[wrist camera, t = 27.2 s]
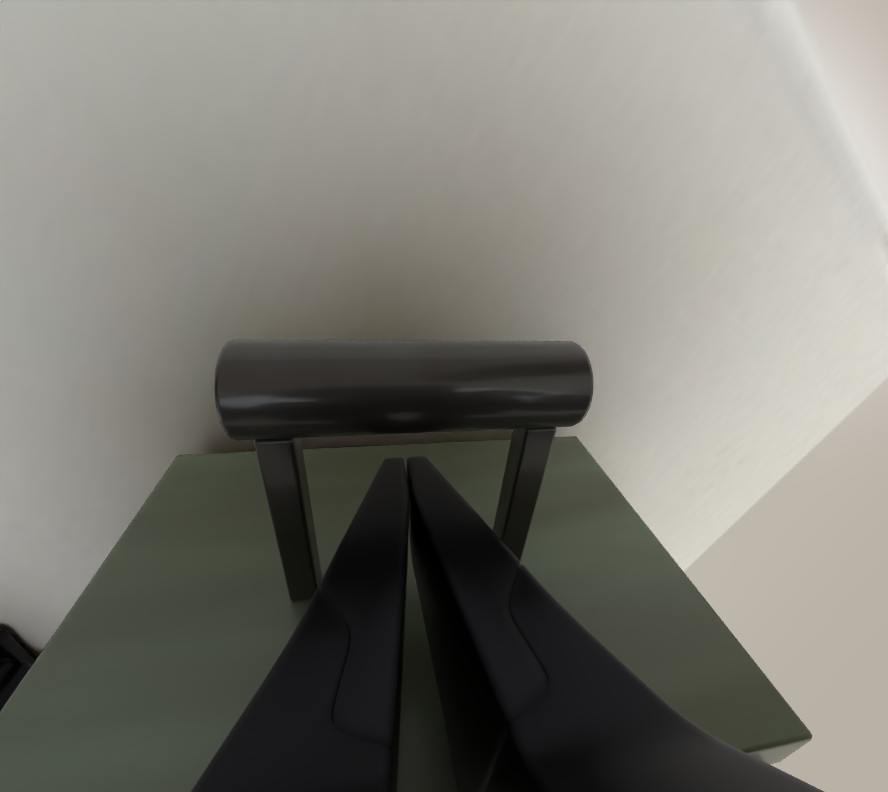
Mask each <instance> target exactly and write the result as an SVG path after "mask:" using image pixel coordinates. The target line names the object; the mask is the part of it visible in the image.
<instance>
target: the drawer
mask: <svg viewBox="0 0 888 792" xmlns="http://www.w3.org/2000/svg"><path fill="white" fill-rule="evenodd" d="M592 395H593V374H592V368H591V364H590V361H589V358H588V356H587V354H586V352H585V351H584V350H583V348H582V347H581V346H580V345H578V344H576V343H574V342H572V341H417V340H233V341H230V342H228V343H226V344H225V345H224V347H223V348H222V350H221V352H220V354H219V357H218V361H217V365H216V372H215V402H216V408H217V413H218V417H219V420H220V423H221V425H222V428H223V430H224V431H225V433H226V434H227V435H228V436H229V437H230V438H232V439H235V440H255V441H254V445H255V449H256V452H236V453H215V454H194V455H179V456H177V457H176V458H175V460H174V461H173V463H172V464H171V466H170V467H169V468H168V470H167V471H166V473H165V474H164V476H163V477H162V479H161V480H160V481H159V483H158V484H157V486H156V487H155V489H154V490H153V492H152V493H151V494H150V496H149V497H148V499H147V500H146V502H145V503H144V505H143V506H142V507H141V509H140V510H139V512H138V513H137V515H136V516H135V518H134V519H133V520H132V522H131V523H130V525H129V526H128V528H127V529H126V531H125V532H124V533H123V535H122V536H121V538H120V539H119V541H118V542H117V544H116V545H115V546H114V548H113V549H112V551H111V552H110V554H109V555H108V557H107V558H106V560H105V561H104V562H103V564H102V565H101V567H100V568H99V570H98V571H97V573H96V574H95V575H94V577H93V578H92V580H91V581H90V583H89V584H88V586H87V587H86V588H85V590H84V591H83V593H82V594H81V596H80V597H79V599H78V600H77V601H76V603H75V604H74V606H73V607H72V609H71V610H70V612H69V613H68V614H67V616H66V617H65V619H64V620H63V622H62V623H61V625H60V626H59V627H58V629H57V630H56V632H55V633H54V635H53V636H52V638H51V639H50V640H49V642H48V643H47V645H46V646H45V648H44V649H43V651H42V652H41V654H40V655H39V656H38V658H37V659H36V661H35V662H34V664H33V665H32V667H31V668H30V669H29V671H28V672H27V674H26V675H25V677H24V678H23V680H22V681H21V682H20V684H19V685H18V687H17V688H16V690H15V691H14V693H13V694H12V695H11V697H10V698H9V700H8V701H7V703H6V704H5V706H4V707H3V708H2V710H1V711H0V792H191V790H192V789H193V787H194V786H195V784H196V783H197V781H198V780H199V778H200V777H201V775H202V774H203V772H204V771H205V769H206V767H207V766H208V764H209V763H210V761H211V760H212V758H213V757H214V755H215V754H216V752H217V751H218V749H219V748H220V746H221V745H222V743H223V742H224V740H225V739H226V737H227V736H228V734H229V733H230V731H231V730H232V728H233V726H234V725H235V723H236V722H237V720H238V719H239V717H240V716H241V714H242V713H243V711H244V710H245V708H246V707H247V705H248V704H249V702H250V701H251V699H252V698H253V696H254V695H255V693H256V692H257V690H258V689H259V687H260V685H261V684H262V682H263V681H264V679H265V678H266V676H267V675H268V673H269V671H270V670H271V668H272V667H273V665H274V663H275V662H276V660H277V659H278V657H279V655H280V654H281V652H282V651H283V649H284V647H285V646H286V644H287V643H288V641H289V639H290V637H291V636H292V634H293V632H294V630H295V628H296V627H297V625H298V623H299V621H300V619H301V618H302V616H303V614H304V612H305V610H306V608H307V607H308V605H309V603H310V601H311V599H312V597H313V595H314V593H315V591H316V590H317V589H318V588H319V584H320V582H321V580H322V578H323V576H324V574H325V572H326V570H327V568H328V566H329V564H330V562H331V561H332V559H333V557H334V555H335V553H336V551H337V549H338V547H339V545H340V543H341V541H342V539H343V537H344V535H345V533H346V532H347V530H348V528H349V526H350V524H351V522H352V520H353V518H354V516H355V514H356V512H357V510H358V508H359V506H360V504H361V502H362V501H363V499H364V497H365V495H366V493H367V491H368V489H369V487H370V485H371V483H372V481H373V479H374V477H375V475H376V473H377V472H378V470H379V468H380V466H381V464H382V462H383V460H384V459H385V458H389V457H402V458H403V459H404V464H405V470H406V460H407V458H408V457H409V456H426V457H427V458H428V459H429V460H430V461H431V463H432V464H433V465H434V466H435V467H436V468H437V469H438V470H439V471H440V473H441V474H442V475H443V476H444V477H445V478H446V479H447V480H448V482H449V483H450V484H451V485H452V486H453V487H454V488H455V489H456V490H457V492H458V493H459V494H460V495H461V496H462V497H463V498H464V499H465V500H466V502H467V503H468V504H469V505H470V506H471V507H472V508H473V509H474V510H475V512H476V513H477V514H478V515H479V516H480V517H481V518H482V519H483V520H484V522H485V523H486V524H487V525H488V526H489V527H490V528H491V529H492V531H493V532H494V533H495V534H496V535H497V536H498V537H499V538H500V539H501V541H502V542H503V543H504V544H505V545H506V546H507V547H508V548H509V549H510V551H511V552H512V553H513V554H514V555H515V556H516V557H517V558H518V559H519V561H520V565H521V564H523V565H524V566H525V567H526V568H527V569H528V570H529V572H530V573H531V574H532V575H533V576H534V577H535V578H536V579H537V580H538V581H539V583H540V584H541V585H542V586H543V587H544V588H545V589H546V590H547V591H548V592H549V593H550V594H551V595H552V596H553V597H554V598H555V599H556V600H557V602H558V603H559V604H560V605H562V606H563V607H564V608H565V609H566V610H567V611H568V612H569V613H570V614H571V615H572V616H573V617H574V618H575V619H576V620H577V621H578V622H579V623H580V624H581V625H582V626H583V627H584V628H586V629H587V630H588V631H589V632H590V633H591V634H592V635H593V636H594V637H595V638H596V639H597V640H599V641H600V642H601V643H602V644H603V645H604V646H605V647H606V648H607V649H608V650H609V651H611V652H612V653H613V654H614V655H615V656H616V657H617V658H618V659H619V660H620V661H621V662H623V663H624V664H625V665H626V666H627V667H628V668H629V669H630V670H631V671H632V672H633V673H635V674H636V675H637V676H638V677H639V678H640V679H641V680H642V681H643V682H644V683H645V684H646V685H648V686H649V687H650V688H651V689H652V690H653V691H654V692H655V693H656V694H657V695H659V696H660V697H661V698H662V699H663V700H664V701H665V702H667V703H668V704H669V705H670V706H671V707H673V708H674V709H675V710H676V711H678V712H679V713H680V714H682V715H683V716H684V717H685V718H687V719H688V720H690V721H691V722H693V723H694V724H696V725H697V726H698V727H700V728H701V729H703V730H705V731H706V732H708V733H710V734H711V735H713V736H714V737H716V738H718V739H720V740H722V741H724V742H725V743H727V744H729V745H731V746H733V747H735V748H737V749H739V750H741V751H743V752H745V753H747V754H749V755H751V756H753V757H755V758H757V759H759V760H761V761H763V762H765V763H767V764H773V763H777V762H780V761H782V760H783V759H785V758H786V757H787V756H789V755H790V754H792V753H793V752H795V751H796V750H797V749H799V748H800V747H802V746H803V745H804V744H806V743H807V742H809V741H810V740H811V738H812V734H811V732H810V731H809V730H808V729H807V727H806V726H805V725H804V723H803V722H802V721H801V720H800V718H799V717H798V716H797V715H796V713H795V712H794V711H793V710H792V708H791V707H790V706H789V705H788V703H787V702H786V701H785V699H784V698H783V697H782V696H781V695H780V693H779V692H778V691H777V690H776V688H775V687H774V686H773V684H772V683H771V682H770V681H769V679H768V678H767V677H766V675H765V674H764V673H763V672H762V671H761V669H760V668H759V667H758V666H757V664H756V663H755V662H754V660H753V659H752V658H751V657H750V655H749V654H748V653H747V651H746V650H745V649H744V648H743V647H742V645H741V644H740V643H739V641H738V640H737V639H736V638H735V636H734V635H733V634H732V633H731V631H730V630H729V629H728V627H727V626H726V625H725V624H724V622H723V621H722V620H721V619H720V617H719V616H718V615H717V614H716V612H715V611H714V610H713V609H712V607H711V606H710V605H709V604H708V602H707V601H706V600H705V598H704V597H703V596H702V595H701V593H700V592H699V591H698V590H697V588H696V587H695V586H694V585H693V583H692V582H691V581H690V580H689V578H688V577H687V576H686V574H685V573H684V572H683V571H682V569H681V568H680V567H679V566H678V564H677V563H676V562H675V561H674V559H673V558H672V557H671V556H670V554H669V553H668V552H667V550H666V549H665V548H664V547H663V545H662V544H661V543H660V542H659V540H658V539H657V538H656V537H655V535H654V534H653V533H652V532H651V530H650V529H649V528H648V526H647V525H646V524H645V523H644V521H643V520H642V519H641V518H640V516H639V515H638V514H637V513H636V511H635V510H634V509H633V508H632V506H631V505H630V504H629V502H628V501H627V500H626V499H625V497H624V496H623V495H622V494H621V492H620V491H619V490H618V489H617V487H616V486H615V485H614V484H613V482H612V481H611V480H610V478H609V477H608V476H607V475H606V473H605V472H604V471H603V470H602V468H601V467H600V466H599V465H598V463H597V462H596V461H595V460H594V458H593V457H592V456H591V455H590V453H589V452H588V451H587V449H586V448H585V447H584V446H583V444H582V443H581V442H580V441H579V439H578V438H577V437H575V436H573V437H554V436H555V433H556V428H555V427H568V426H574V425H576V424H577V423H579V422H580V421H582V419H583V418H584V417H585V416H586V414H587V412H588V410H589V407H590V404H591V400H592ZM497 429H513V432H512V437H511V439H509V440H488V441H467V442H446V443H425V444H404V445H383V446H362V447H341V448H320V449H303V448H302V442H301V438H307V437H331V436H354V435H378V434H402V433H426V432H449V431H473V430H497ZM397 792H459V790H458V785H457V780H456V775H455V770H454V765H453V760H452V755H451V750H450V746H449V741H448V736H447V731H446V726H445V721H444V716H443V711H442V707H441V702H440V697H439V692H438V687H437V682H436V677H435V672H434V667H433V663H432V658H431V653H430V648H429V643H428V638H427V633H426V628H425V623H424V619H423V614H422V609H421V604H420V599H419V594H418V589H417V584H416V579H415V575H414V570H413V564H412V558H411V549H410V537H409V534H408V571H407V591H406V611H405V632H404V652H403V673H402V693H401V713H400V734H399V754H398V774H397Z"/></svg>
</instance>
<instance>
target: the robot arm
mask: <svg viewBox="0 0 888 792" xmlns="http://www.w3.org/2000/svg"><path fill="white" fill-rule="evenodd" d="M408 534H409V537H410V549H411V558H412V564H413V570H414V575H415V579H416V584H417V589H418V594H419V599H420V604H421V609H422V614H423V619H424V623H425V628H426V633H427V638H428V643H429V648H430V653H431V658H432V663H433V667H434V672H435V677H436V682H437V687H438V692H439V697H440V702H441V707H442V711H443V716H444V721H445V726H446V731H447V736H448V741H449V746H450V750H451V755H452V760H453V765H454V770H455V775H456V780H457V785H458V790H459V792H824V791H822V790H820V789H817V788H816V787H814V786H811V785H809V784H808V783H806V782H804V781H802V780H800V779H798V778H795V777H793V776H791V775H789V774H787V773H785V772H783V771H781V770H779V769H777V768H775V767H773V766H771V765H769V764H767V763H765V762H763V761H761V760H759V759H757V758H755V757H753V756H751V755H749V754H747V753H745V752H743V751H741V750H739V749H737V748H735V747H733V746H731V745H729V744H727V743H725V742H724V741H722V740H720V739H718V738H716V737H714V736H713V735H711V734H710V733H708V732H706V731H705V730H703V729H701V728H700V727H698V726H697V725H696V724H694V723H693V722H691V721H690V720H688V719H687V718H685V717H684V716H683V715H682V714H680V713H679V712H678V711H676V710H675V709H674V708H673V707H671V706H670V705H669V704H668V703H667V702H665V701H664V700H663V699H662V698H661V697H660V696H659V695H657V694H656V693H655V692H654V691H653V690H652V689H651V688H650V687H649V686H648V685H646V684H645V683H644V682H643V681H642V680H641V679H640V678H639V677H638V676H637V675H636V674H635V673H633V672H632V671H631V670H630V669H629V668H628V667H627V666H626V665H625V664H624V663H623V662H621V661H620V660H619V659H618V658H617V657H616V656H615V655H614V654H613V653H612V652H611V651H609V650H608V649H607V648H606V647H605V646H604V645H603V644H602V643H601V642H600V641H599V640H597V639H596V638H595V637H594V636H593V635H592V634H591V633H590V632H589V631H588V630H587V629H586V628H584V627H583V626H582V625H581V624H580V623H579V622H578V621H577V620H576V619H575V618H574V617H573V616H572V615H571V614H570V613H569V612H568V611H567V610H566V609H565V608H564V607H563V606H562V605H560V604H559V603H558V602H557V600H556V599H555V598H554V597H553V596H552V595H551V594H550V593H549V592H548V591H547V590H546V589H545V588H544V587H543V586H542V585H541V584H540V583H539V581H538V580H537V579H536V578H535V577H534V576H533V575H532V574H531V573H530V572H529V570H528V569H527V568H526V567H525V566H524V565H523V564H521V565H520V561H519V559H518V558H517V557H516V556H515V555H514V554H513V553H512V552H511V551H510V549H509V548H508V547H507V546H506V545H505V544H504V543H503V542H502V541H501V539H500V538H499V537H498V536H497V535H496V534H495V533H494V532H493V531H492V529H491V528H490V527H489V526H488V525H487V524H486V523H485V522H484V520H483V519H482V518H481V517H480V516H479V515H478V514H477V513H476V512H475V510H474V509H473V508H472V507H471V506H470V505H469V504H468V503H467V502H466V500H465V499H464V498H463V497H462V496H461V495H460V494H459V493H458V492H457V490H456V489H455V488H454V487H453V486H452V485H451V484H450V483H449V482H448V480H447V479H446V478H445V477H444V476H443V475H442V474H441V473H440V471H439V470H438V469H437V468H436V467H435V466H434V465H433V464H432V463H431V461H430V460H429V459H428V458H427V457H426V456H409V457H408V458H407V460H406V470H405V464H404V459H403V458H402V457H389V458H385V459H384V460H383V462H382V464H381V466H380V468H379V470H378V472H377V473H376V475H375V477H374V479H373V481H372V483H371V485H370V487H369V489H368V491H367V493H366V495H365V497H364V499H363V501H362V502H361V504H360V506H359V508H358V510H357V512H356V514H355V516H354V518H353V520H352V522H351V524H350V526H349V528H348V530H347V532H346V533H345V535H344V537H343V539H342V541H341V543H340V545H339V547H338V549H337V551H336V553H335V555H334V557H333V559H332V561H331V562H330V564H329V566H328V568H327V570H326V572H325V574H324V576H323V578H322V580H321V582H320V584H319V588H318V589H317V590H316V591H315V593H314V595H313V597H312V599H311V601H310V603H309V605H308V607H307V608H306V610H305V612H304V614H303V616H302V618H301V619H300V621H299V623H298V625H297V627H296V628H295V630H294V632H293V634H292V636H291V637H290V639H289V641H288V643H287V644H286V646H285V647H284V649H283V651H282V652H281V654H280V655H279V657H278V659H277V660H276V662H275V663H274V665H273V667H272V668H271V670H270V671H269V673H268V675H267V676H266V678H265V679H264V681H263V682H262V684H261V685H260V687H259V689H258V690H257V692H256V693H255V695H254V696H253V698H252V699H251V701H250V702H249V704H248V705H247V707H246V708H245V710H244V711H243V713H242V714H241V716H240V717H239V719H238V720H237V722H236V723H235V725H234V726H233V728H232V730H231V731H230V733H229V734H228V736H227V737H226V739H225V740H224V742H223V743H222V745H221V746H220V748H219V749H218V751H217V752H216V754H215V755H214V757H213V758H212V760H211V761H210V763H209V764H208V766H207V767H206V769H205V771H204V772H203V774H202V775H201V777H200V778H199V780H198V781H197V783H196V784H195V786H194V787H193V789H192V790H191V792H397V774H398V754H399V734H400V713H401V693H402V673H403V652H404V632H405V611H406V591H407V571H408ZM34 662H35V660H34V659H33V658H32V657H31V656H30V655H29V653H28V652H27V651H26V650H25V649H24V648H23V647H22V646H21V645H20V644H19V643H18V642H17V641H16V640H15V639H14V638H13V637H12V636H11V635H10V634H9V633H8V632H6V631H4V630H0V711H1V710H2V708H3V707H4V706H5V704H6V703H7V701H8V700H9V698H10V697H11V695H12V694H13V693H14V691H15V690H16V688H17V687H18V685H19V684H20V682H21V681H22V680H23V678H24V677H25V675H26V674H27V672H28V671H29V669H30V668H31V667H32V665H33V664H34Z"/></svg>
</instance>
